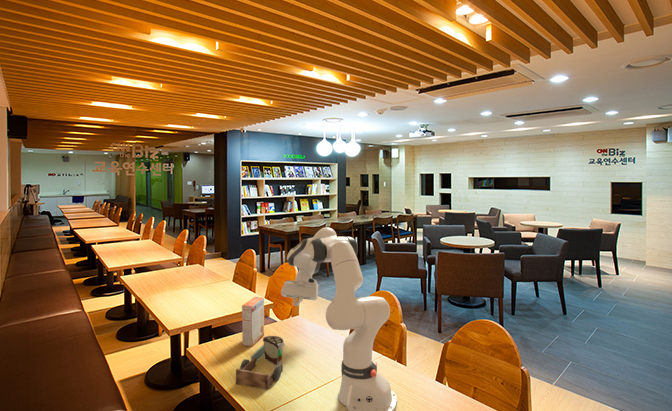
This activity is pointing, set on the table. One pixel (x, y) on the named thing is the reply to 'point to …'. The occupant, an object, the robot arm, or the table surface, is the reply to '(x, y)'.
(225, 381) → the table surface
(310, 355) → the table surface
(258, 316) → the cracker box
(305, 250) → the robot arm
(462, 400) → the table surface
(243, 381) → the cart bed
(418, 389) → the table surface
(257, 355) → the pale teal plank
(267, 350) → the food container
